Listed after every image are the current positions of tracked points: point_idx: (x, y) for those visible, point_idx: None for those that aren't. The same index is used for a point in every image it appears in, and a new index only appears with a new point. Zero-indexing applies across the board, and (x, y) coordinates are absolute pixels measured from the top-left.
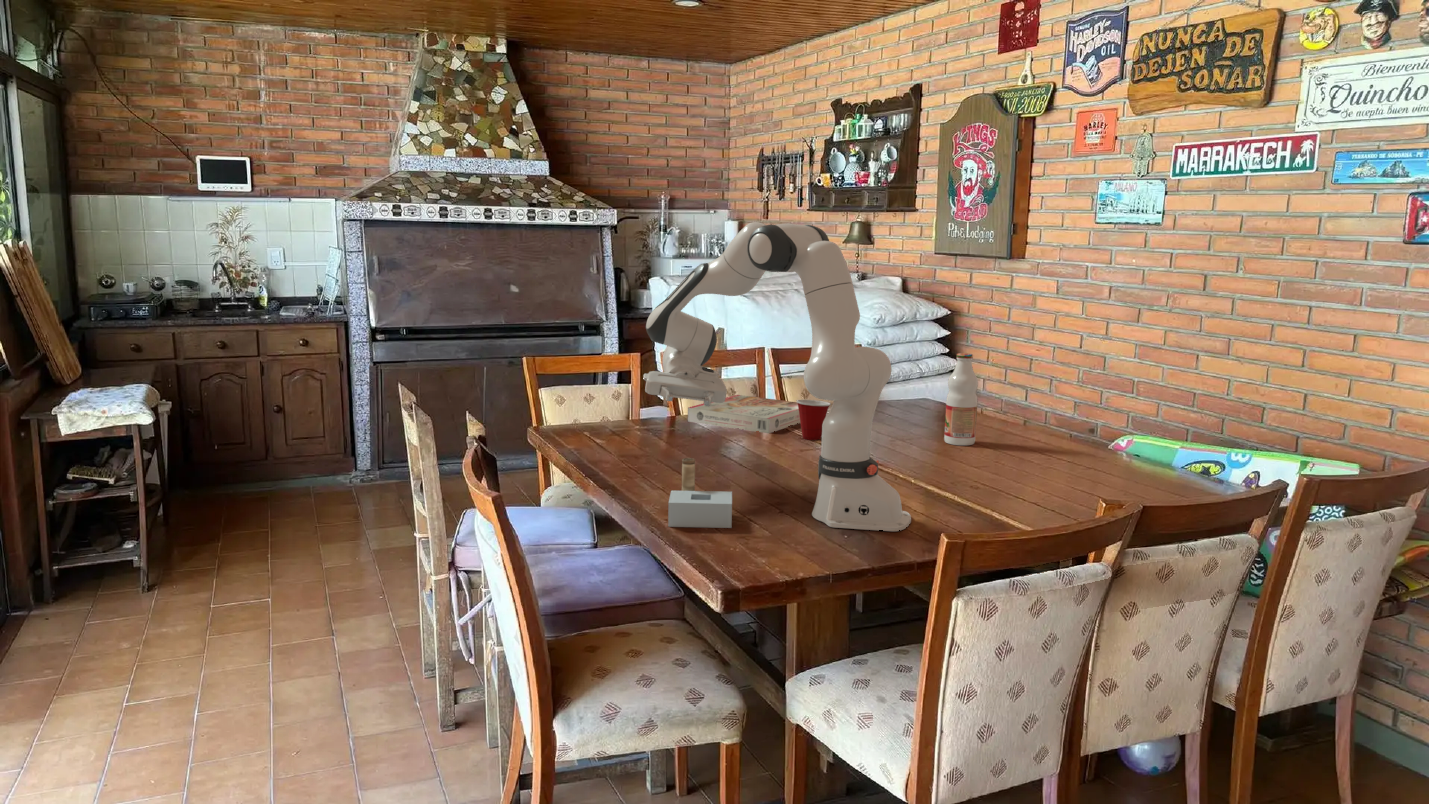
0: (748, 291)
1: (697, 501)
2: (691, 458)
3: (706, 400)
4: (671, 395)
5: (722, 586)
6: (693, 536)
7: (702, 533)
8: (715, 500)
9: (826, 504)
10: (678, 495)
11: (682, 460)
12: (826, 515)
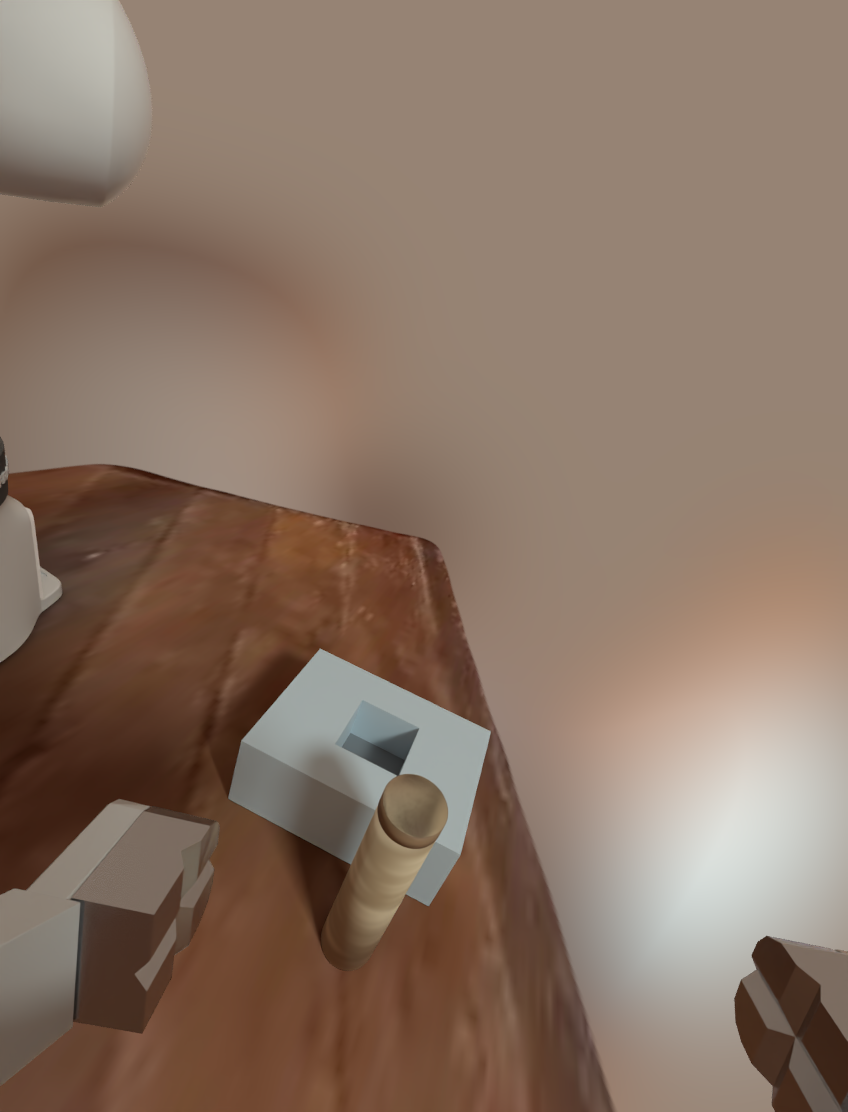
0: None
1: (405, 705)
2: (393, 819)
3: (201, 819)
4: (800, 946)
5: (437, 548)
6: (419, 696)
7: None
8: (350, 689)
9: (30, 570)
10: (447, 782)
11: (447, 808)
12: (39, 592)
